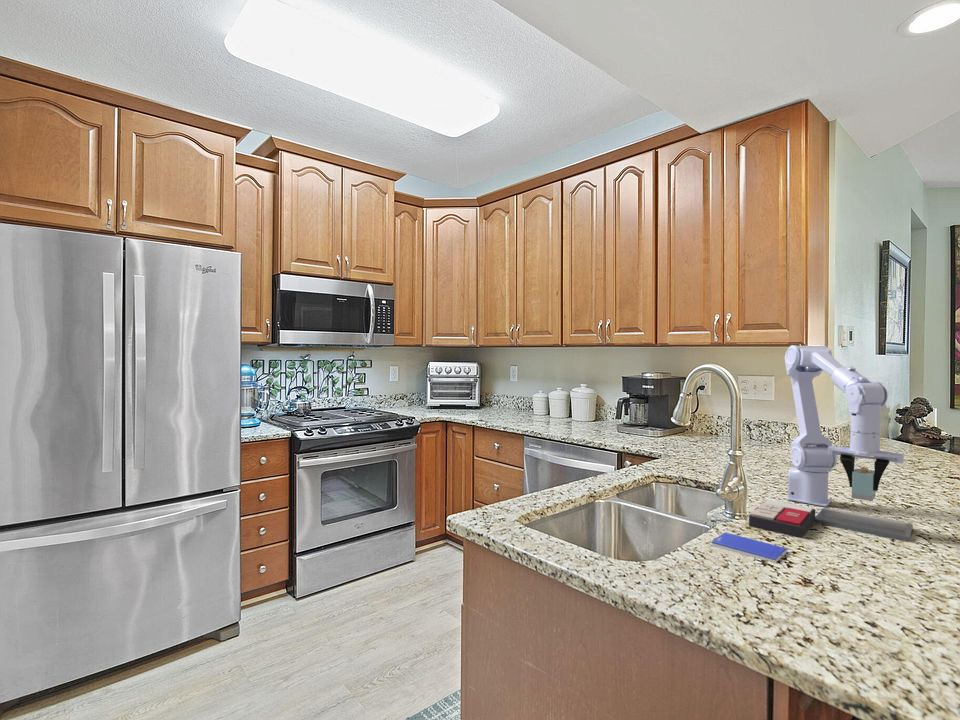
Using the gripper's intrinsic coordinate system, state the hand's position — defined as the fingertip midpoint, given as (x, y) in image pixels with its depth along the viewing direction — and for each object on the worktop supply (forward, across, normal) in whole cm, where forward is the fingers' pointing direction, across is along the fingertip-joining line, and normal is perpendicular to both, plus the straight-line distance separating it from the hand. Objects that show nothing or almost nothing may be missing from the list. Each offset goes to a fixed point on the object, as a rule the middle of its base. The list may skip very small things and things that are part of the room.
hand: (863, 488), depth 123 cm
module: (+2, 0, 0) cm, 2 cm away
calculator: (+10, -14, -13) cm, 22 cm away
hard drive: (+10, -16, -36) cm, 40 cm away
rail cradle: (+9, 0, 0) cm, 9 cm away
